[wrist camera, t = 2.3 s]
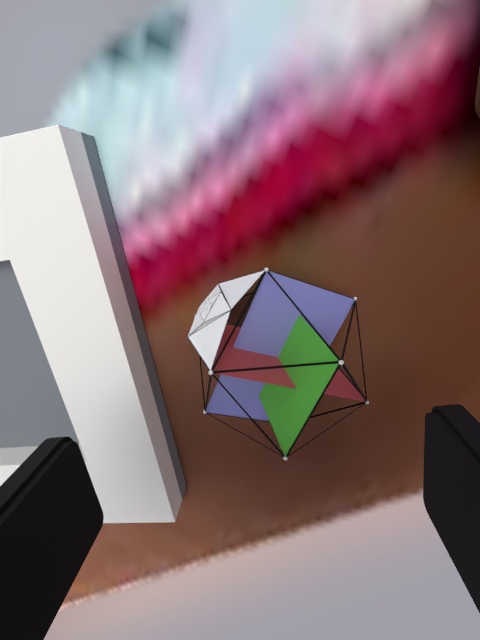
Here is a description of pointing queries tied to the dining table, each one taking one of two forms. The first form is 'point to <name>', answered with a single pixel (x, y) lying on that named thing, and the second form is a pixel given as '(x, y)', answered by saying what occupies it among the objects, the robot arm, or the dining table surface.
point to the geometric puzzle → (274, 352)
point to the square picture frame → (77, 330)
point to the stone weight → (478, 96)
